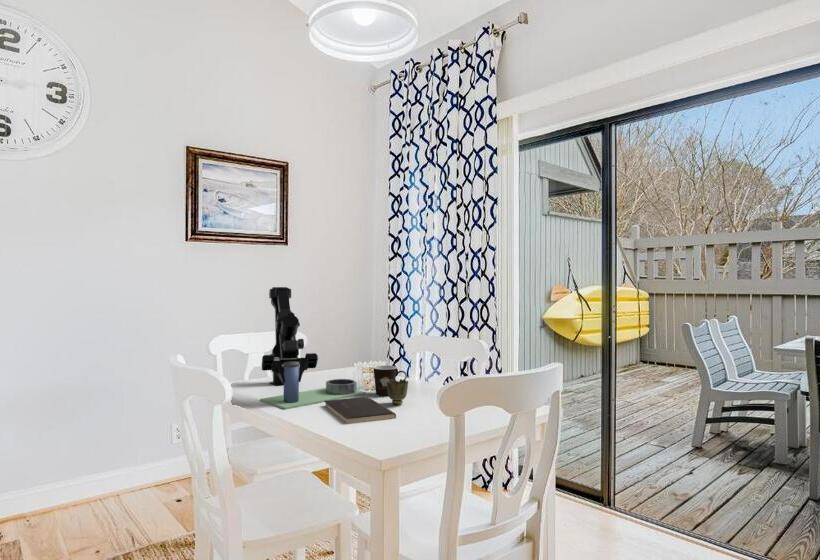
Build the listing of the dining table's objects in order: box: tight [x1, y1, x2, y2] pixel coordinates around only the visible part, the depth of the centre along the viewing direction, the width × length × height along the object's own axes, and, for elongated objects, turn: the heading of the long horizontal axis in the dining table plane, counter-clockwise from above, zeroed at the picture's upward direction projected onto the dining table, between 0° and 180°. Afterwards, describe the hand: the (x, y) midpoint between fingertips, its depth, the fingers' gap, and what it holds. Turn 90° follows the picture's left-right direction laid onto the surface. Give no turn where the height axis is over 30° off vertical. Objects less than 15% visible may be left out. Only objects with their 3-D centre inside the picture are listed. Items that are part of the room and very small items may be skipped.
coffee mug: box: [373, 364, 408, 398], centre depth 192 cm, size 12×9×10 cm
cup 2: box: [387, 378, 409, 406], centre depth 178 cm, size 8×7×8 cm
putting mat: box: [259, 387, 367, 410], centre depth 187 cm, size 16×34×1 cm, turn 135°
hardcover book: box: [323, 396, 397, 424], centre depth 168 cm, size 16×23×2 cm
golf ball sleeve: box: [283, 361, 300, 402], centre depth 177 cm, size 5×5×13 cm
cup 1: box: [325, 378, 358, 395], centre depth 194 cm, size 11×11×4 cm
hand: (291, 382), depth 176 cm, fingers closed on golf ball sleeve, 5 cm apart
